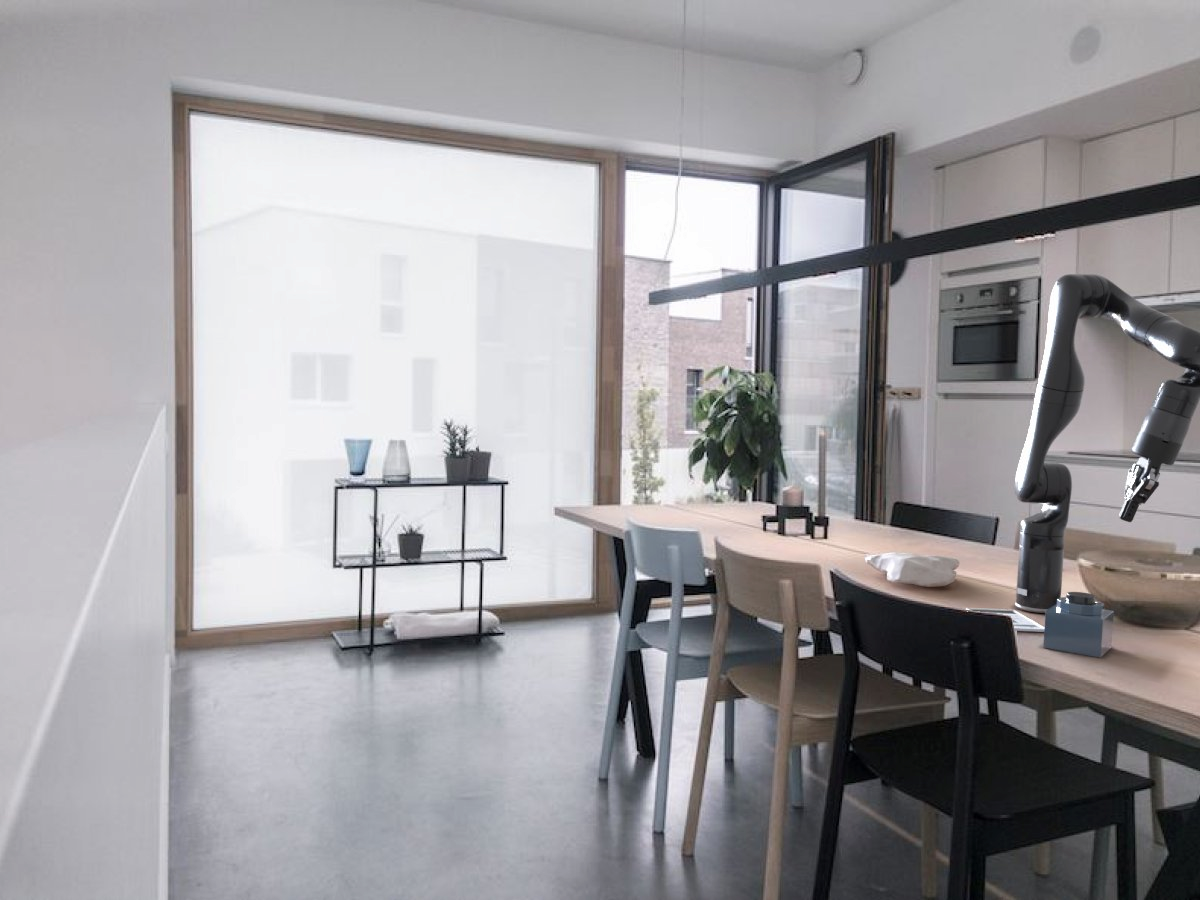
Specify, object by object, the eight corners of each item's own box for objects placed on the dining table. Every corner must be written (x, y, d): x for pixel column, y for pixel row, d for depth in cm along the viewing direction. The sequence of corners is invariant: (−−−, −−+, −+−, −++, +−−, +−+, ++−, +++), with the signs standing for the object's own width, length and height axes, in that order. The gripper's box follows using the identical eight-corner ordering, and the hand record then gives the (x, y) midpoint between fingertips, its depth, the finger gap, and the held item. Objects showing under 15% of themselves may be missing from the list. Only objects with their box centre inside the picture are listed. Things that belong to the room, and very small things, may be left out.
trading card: (1048, 632, 202) (1014, 612, 220) (1048, 629, 202) (1014, 609, 220) (995, 630, 203) (965, 610, 221) (995, 627, 203) (965, 607, 221)
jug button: (1069, 599, 194) (1070, 590, 194) (1097, 603, 191) (1098, 594, 191) (1063, 603, 190) (1063, 594, 190) (1091, 607, 187) (1092, 598, 187)
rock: (877, 586, 243) (859, 573, 273) (975, 592, 241) (946, 578, 270) (878, 554, 243) (860, 545, 273) (976, 559, 241) (947, 550, 271)
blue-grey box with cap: (1056, 638, 198) (1059, 593, 197) (1111, 647, 192) (1114, 601, 191) (1043, 647, 190) (1046, 601, 189) (1100, 657, 184) (1103, 609, 183)
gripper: (1132, 424, 193) (1097, 506, 197) (1149, 433, 181) (1111, 520, 184) (1172, 437, 192) (1136, 519, 195) (1193, 446, 179) (1153, 534, 183)
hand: (1124, 520), depth 190 cm, fingers closed
